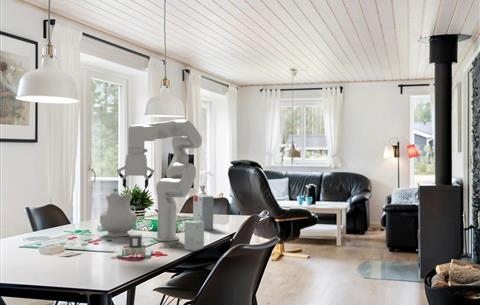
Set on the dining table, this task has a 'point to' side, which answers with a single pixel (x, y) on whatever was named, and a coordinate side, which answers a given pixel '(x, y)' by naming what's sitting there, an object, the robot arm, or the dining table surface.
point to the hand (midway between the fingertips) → (135, 187)
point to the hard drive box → (203, 209)
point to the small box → (194, 235)
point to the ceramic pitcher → (118, 215)
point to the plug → (135, 241)
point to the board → (135, 252)
